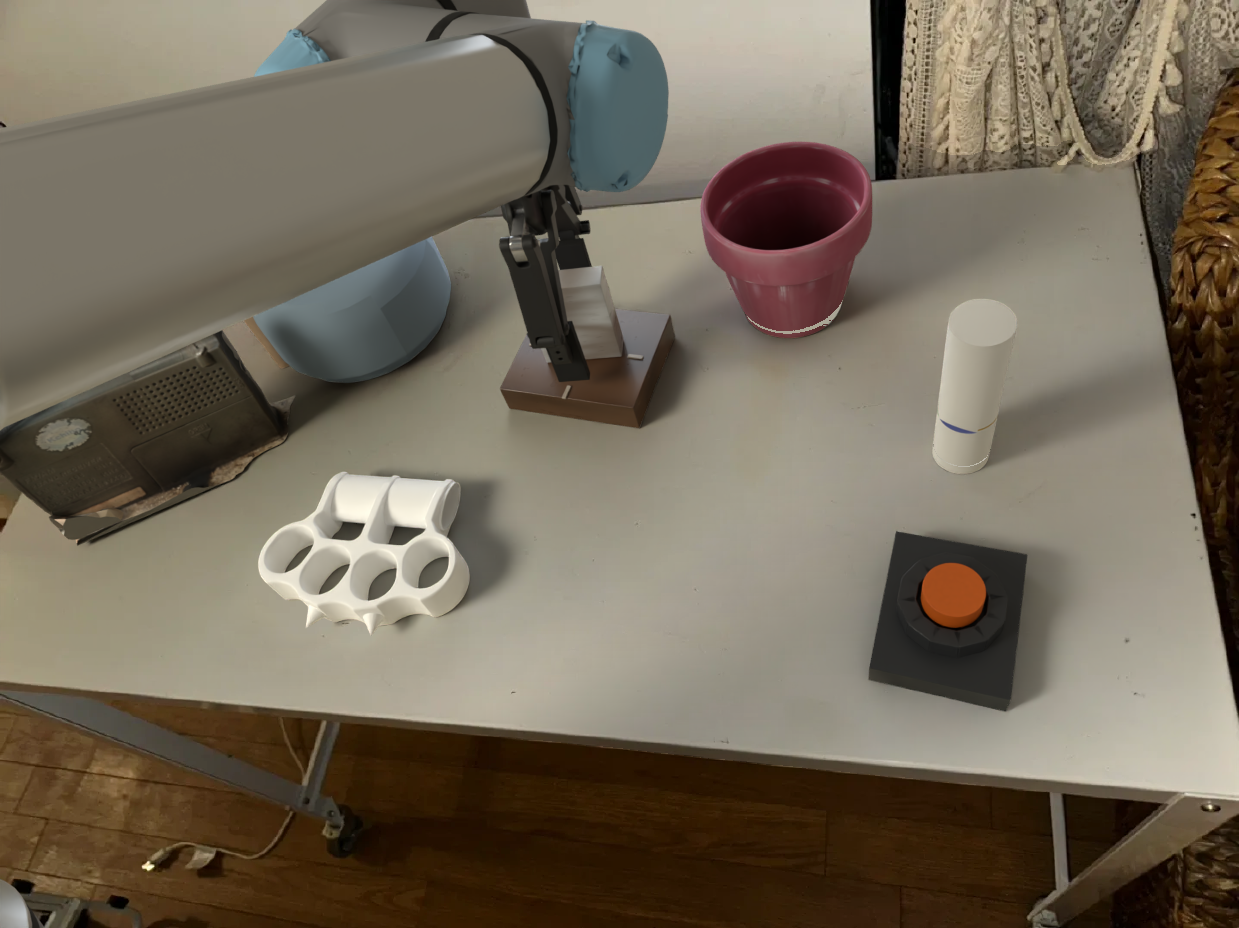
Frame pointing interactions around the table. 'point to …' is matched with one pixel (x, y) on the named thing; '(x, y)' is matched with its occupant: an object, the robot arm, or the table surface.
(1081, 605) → the table surface
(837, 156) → the flower pot
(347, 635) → the table surface
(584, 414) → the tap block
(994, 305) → the tube
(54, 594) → the table surface
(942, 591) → the button
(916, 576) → the button box
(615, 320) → the red-tipped white block
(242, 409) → the radio
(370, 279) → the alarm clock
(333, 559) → the white brass knuckles
